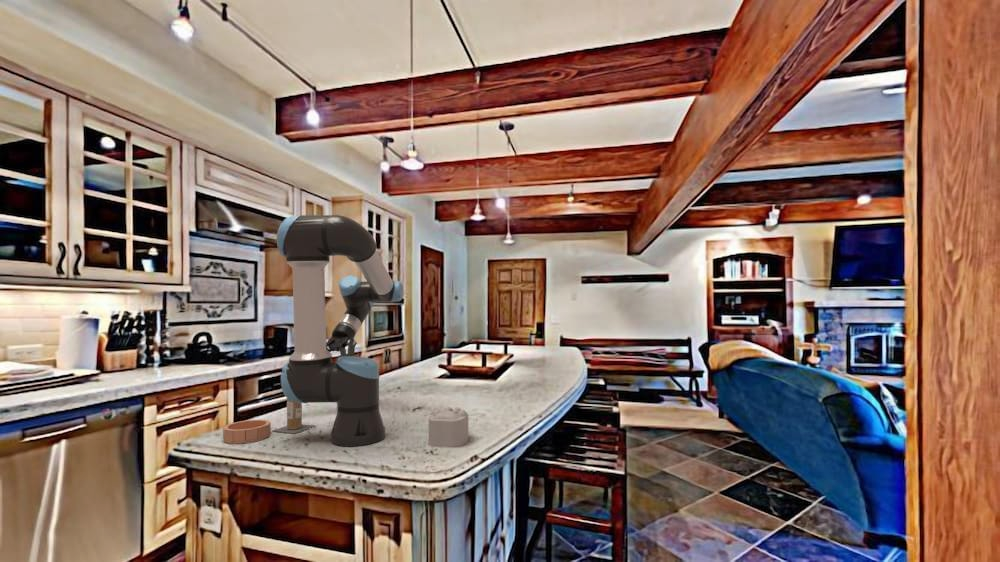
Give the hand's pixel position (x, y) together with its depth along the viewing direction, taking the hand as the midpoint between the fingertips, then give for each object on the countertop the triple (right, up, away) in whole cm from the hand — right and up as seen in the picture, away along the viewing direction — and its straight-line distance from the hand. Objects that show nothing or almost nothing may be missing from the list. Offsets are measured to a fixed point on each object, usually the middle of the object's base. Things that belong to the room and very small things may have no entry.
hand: (316, 377), depth 158 cm
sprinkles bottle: (-3, -14, -10) cm, 17 cm away
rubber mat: (-3, -14, -10) cm, 17 cm away
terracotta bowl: (-13, -14, -19) cm, 27 cm away
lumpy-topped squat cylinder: (+47, -13, -23) cm, 54 cm away
